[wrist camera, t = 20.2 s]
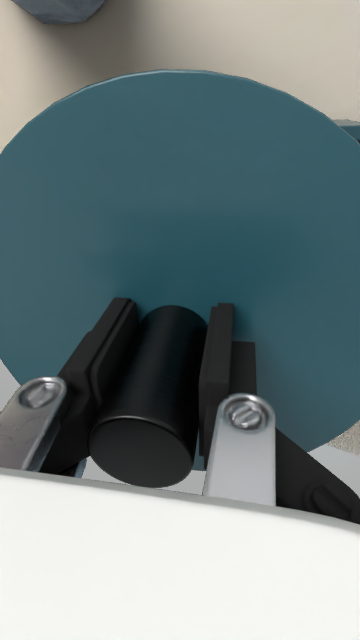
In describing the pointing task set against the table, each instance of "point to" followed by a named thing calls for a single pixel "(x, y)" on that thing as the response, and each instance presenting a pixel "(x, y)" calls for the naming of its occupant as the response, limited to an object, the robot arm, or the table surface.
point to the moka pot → (60, 10)
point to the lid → (185, 255)
